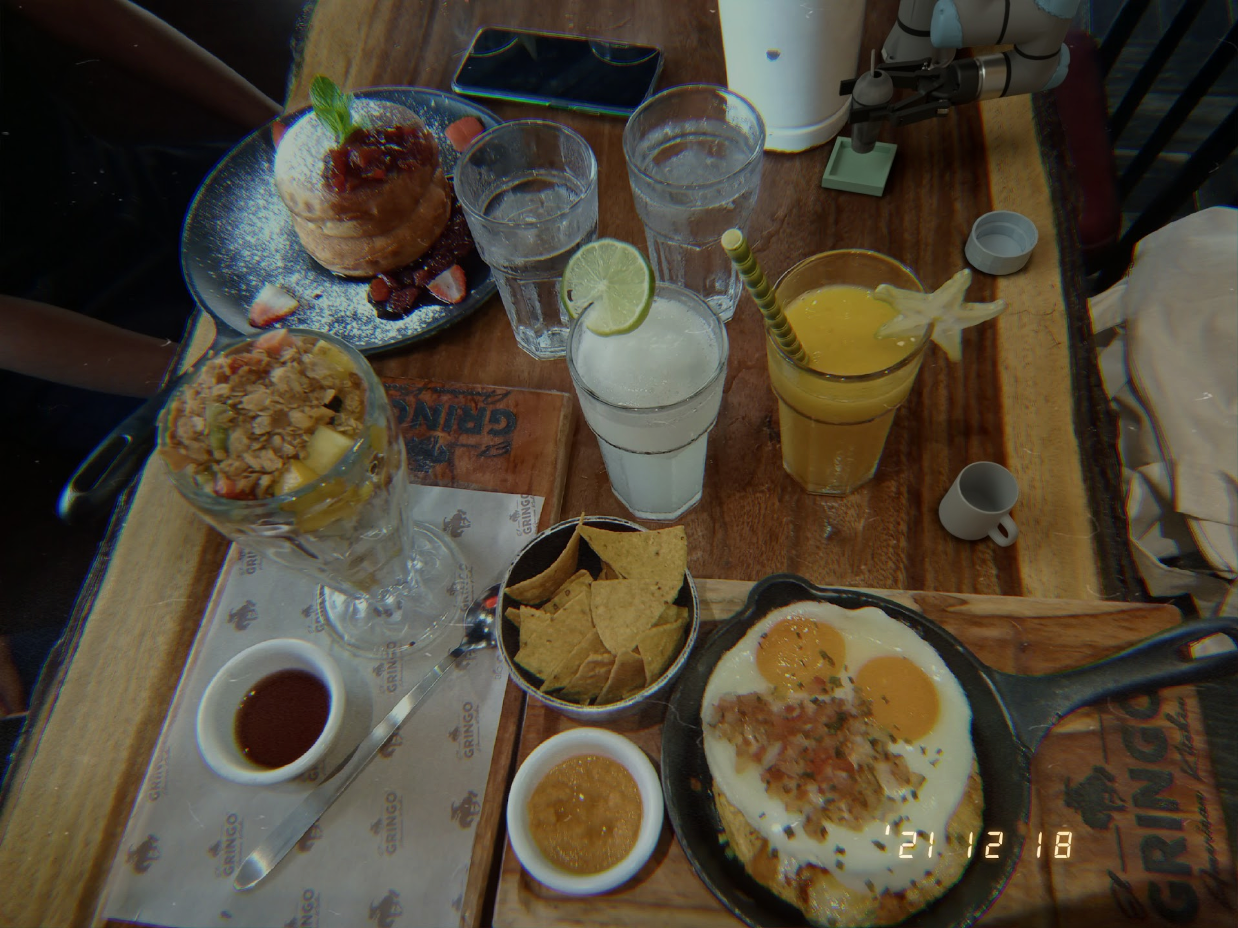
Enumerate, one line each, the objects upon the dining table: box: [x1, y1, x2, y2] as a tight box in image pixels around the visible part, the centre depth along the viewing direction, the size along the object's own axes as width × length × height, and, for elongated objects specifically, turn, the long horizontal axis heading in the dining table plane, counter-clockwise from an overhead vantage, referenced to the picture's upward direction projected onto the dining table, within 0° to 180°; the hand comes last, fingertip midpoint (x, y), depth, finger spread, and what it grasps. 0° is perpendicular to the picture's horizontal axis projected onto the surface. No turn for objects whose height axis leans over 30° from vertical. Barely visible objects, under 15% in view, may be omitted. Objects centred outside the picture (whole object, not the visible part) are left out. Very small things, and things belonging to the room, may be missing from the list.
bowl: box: [964, 209, 1040, 276], centre depth 134 cm, size 11×11×5 cm
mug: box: [938, 461, 1020, 547], centre depth 109 cm, size 12×8×11 cm
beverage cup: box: [850, 48, 894, 154], centre depth 135 cm, size 7×7×20 cm
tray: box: [821, 136, 898, 197], centre depth 148 cm, size 12×12×2 cm
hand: (844, 102), depth 135 cm, fingers closed on beverage cup, 7 cm apart
